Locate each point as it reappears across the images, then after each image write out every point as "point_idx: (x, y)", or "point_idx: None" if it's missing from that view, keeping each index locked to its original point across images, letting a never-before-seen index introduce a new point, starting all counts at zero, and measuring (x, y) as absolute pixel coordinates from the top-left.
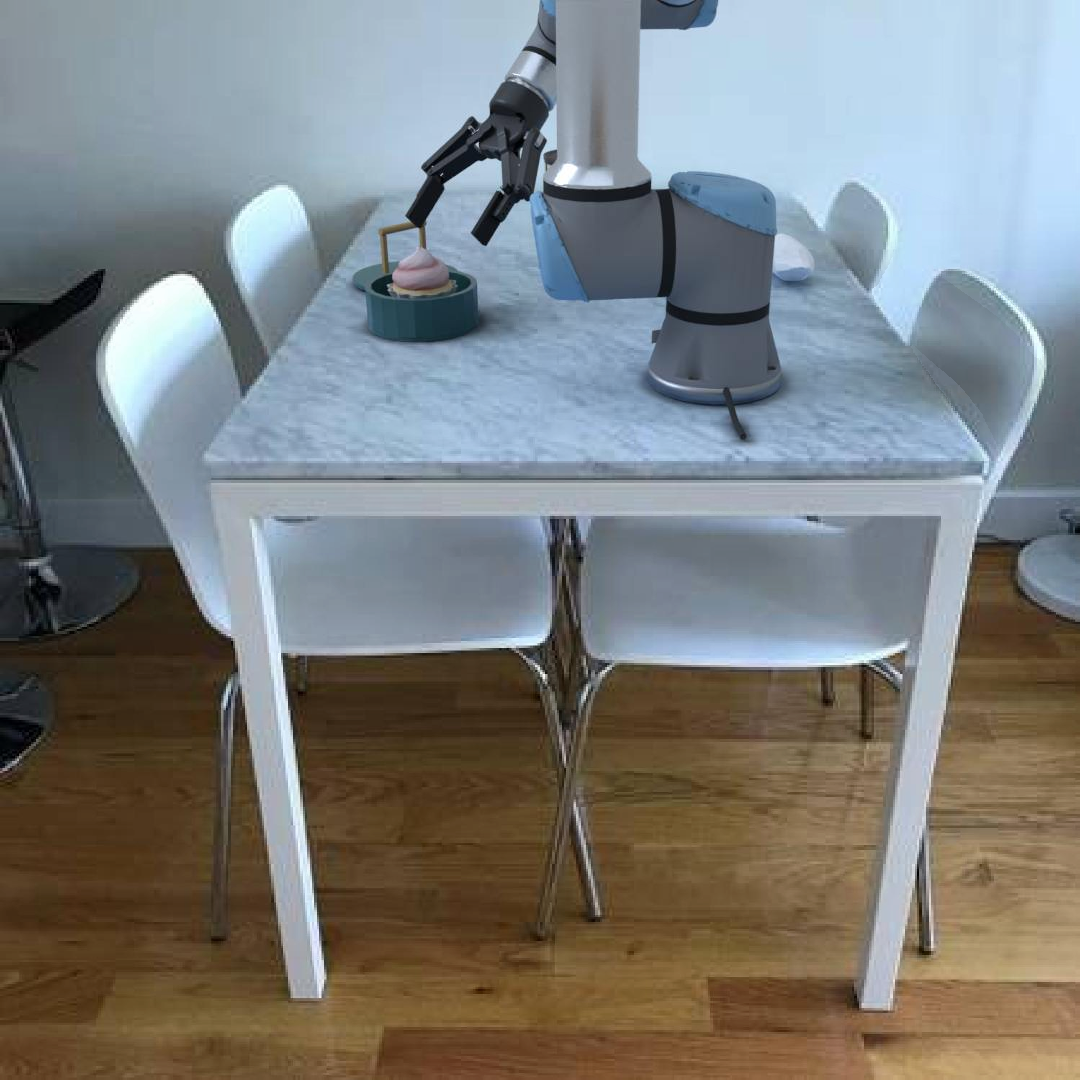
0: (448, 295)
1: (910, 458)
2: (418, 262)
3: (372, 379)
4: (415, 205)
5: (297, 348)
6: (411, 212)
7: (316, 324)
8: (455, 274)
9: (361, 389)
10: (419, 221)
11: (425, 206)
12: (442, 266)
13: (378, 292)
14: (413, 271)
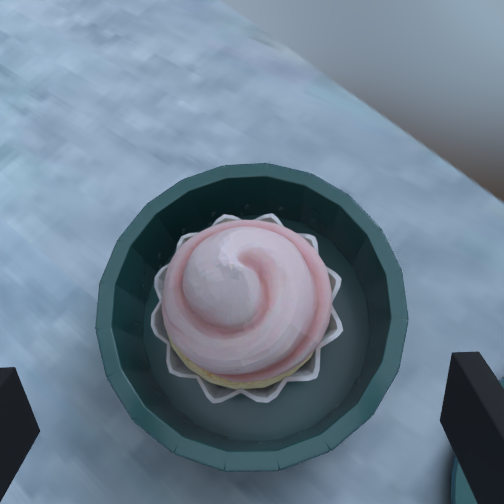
0: (110, 289)
1: None
2: (199, 247)
3: (83, 91)
4: (478, 400)
5: (301, 75)
6: (463, 372)
7: (408, 160)
8: (271, 450)
9: (63, 61)
10: (451, 419)
11: (485, 472)
12: (183, 331)
13: (363, 252)
14: (204, 237)
